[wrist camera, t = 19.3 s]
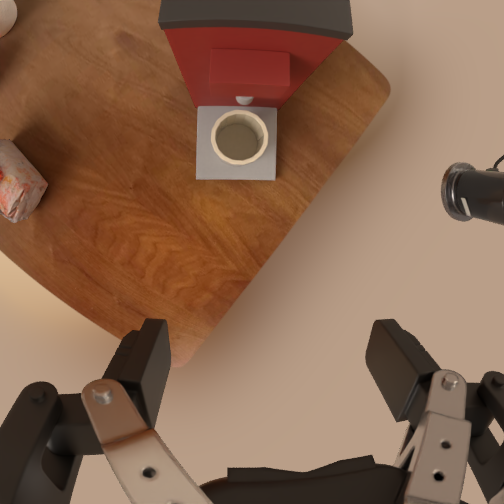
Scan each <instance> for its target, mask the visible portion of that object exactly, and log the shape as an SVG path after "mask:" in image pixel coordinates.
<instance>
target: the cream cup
mask: <svg viewBox="0 0 504 504" xmlns="http://www.w3.org/2000/svg"><path fill="white" fill-rule="evenodd" d="M211 143H212V146H213V149H214V151H215V154H216V156H217V157H218V158H219V160H221V162H223V163H225V164H226V165H229V166H233V167H241V166H244V165H247V164H250V163H252V162H254V161H255V160H256V159H258V158H259V157H260V156H261V155H262V154H263V153H264V151H265V149H266V147H267V145H268V131H267V128H266V125H265V123H264V122H263V121H262V120H261V119H260V117H259V116H258V115H256V114H254V113H252V112H250V111H247V110H233V111H230V112H227V113H225V114H224V115H222V116H221V117H220V118H219V119H218V120H217V121H216V123H215V124H214V126H213V128H212V132H211Z"/></svg>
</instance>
